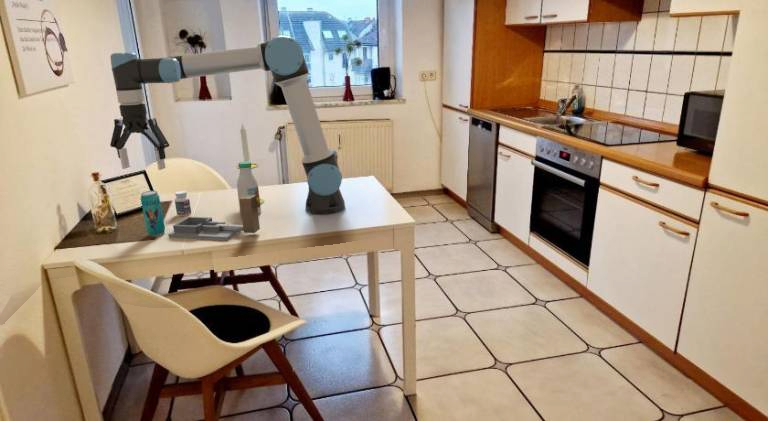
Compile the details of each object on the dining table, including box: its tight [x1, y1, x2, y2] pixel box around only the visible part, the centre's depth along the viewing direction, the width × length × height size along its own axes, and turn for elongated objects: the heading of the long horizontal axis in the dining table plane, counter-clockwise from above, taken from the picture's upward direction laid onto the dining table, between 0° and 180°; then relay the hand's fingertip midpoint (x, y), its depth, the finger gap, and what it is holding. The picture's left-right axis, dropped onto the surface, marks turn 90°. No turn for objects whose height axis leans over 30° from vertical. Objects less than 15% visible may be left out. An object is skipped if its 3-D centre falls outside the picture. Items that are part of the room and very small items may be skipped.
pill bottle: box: [174, 190, 192, 217], centre depth 193 cm, size 5×5×9 cm
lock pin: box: [215, 195, 261, 234], centre depth 169 cm, size 15×4×12 cm, turn 78°
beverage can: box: [140, 190, 166, 238], centre depth 171 cm, size 6×6×15 cm
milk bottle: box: [236, 161, 262, 215], centre depth 189 cm, size 8×8×20 cm
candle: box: [236, 123, 265, 205], centre depth 200 cm, size 10×10×32 cm
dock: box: [167, 216, 242, 241], centre depth 173 cm, size 22×12×4 cm, turn 78°
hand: (143, 168), depth 166 cm, fingers open, 13 cm apart
